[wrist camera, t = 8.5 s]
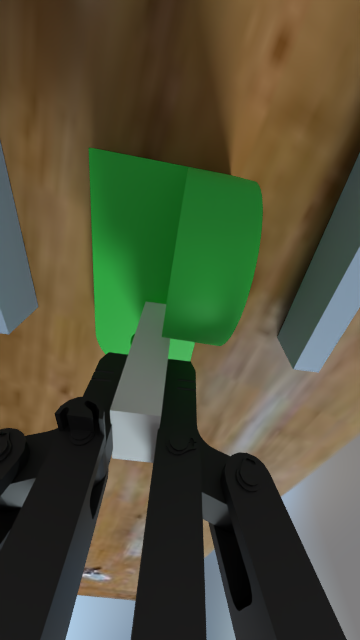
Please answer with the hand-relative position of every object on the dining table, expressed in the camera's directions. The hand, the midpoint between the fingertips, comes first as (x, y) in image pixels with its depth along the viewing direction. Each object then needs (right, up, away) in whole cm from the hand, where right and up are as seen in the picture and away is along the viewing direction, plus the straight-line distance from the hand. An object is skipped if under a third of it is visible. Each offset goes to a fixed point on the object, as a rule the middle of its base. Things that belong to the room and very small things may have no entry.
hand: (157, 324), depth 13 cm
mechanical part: (0, +3, +2) cm, 3 cm away
